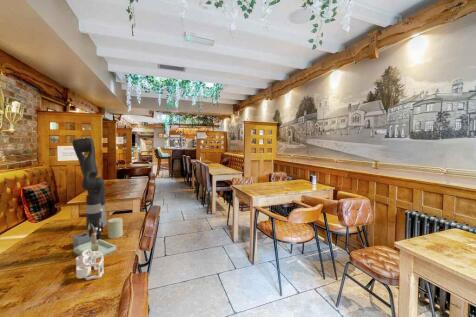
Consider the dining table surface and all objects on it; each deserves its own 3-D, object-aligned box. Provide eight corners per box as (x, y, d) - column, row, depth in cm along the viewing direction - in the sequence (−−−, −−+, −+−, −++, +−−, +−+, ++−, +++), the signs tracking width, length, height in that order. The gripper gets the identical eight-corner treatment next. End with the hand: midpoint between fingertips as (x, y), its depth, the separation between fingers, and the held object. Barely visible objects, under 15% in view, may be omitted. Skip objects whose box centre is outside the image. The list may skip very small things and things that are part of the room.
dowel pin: (96, 248, 126) (96, 232, 126) (99, 249, 125) (99, 233, 124) (90, 250, 123) (89, 234, 123) (93, 252, 122) (92, 235, 121)
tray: (98, 243, 135) (98, 238, 135) (116, 250, 125) (116, 246, 125) (73, 252, 123) (73, 247, 123) (90, 262, 113) (90, 256, 113)
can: (109, 239, 140) (108, 222, 139) (106, 235, 147) (106, 218, 146) (124, 236, 146) (124, 219, 145) (121, 232, 153) (121, 216, 152)
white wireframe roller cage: (76, 265, 110) (75, 252, 110) (101, 258, 117) (100, 246, 116) (76, 285, 94) (76, 269, 94) (105, 276, 101) (104, 261, 101)
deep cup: (85, 241, 137) (85, 232, 136) (91, 244, 133) (90, 234, 133) (73, 246, 131) (72, 236, 130) (78, 248, 127) (78, 238, 127)
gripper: (107, 211, 122) (107, 238, 123) (94, 207, 129) (95, 233, 130) (93, 214, 116) (94, 243, 117) (80, 210, 123) (81, 237, 124)
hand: (94, 237), depth 124 cm, fingers open, 8 cm apart
